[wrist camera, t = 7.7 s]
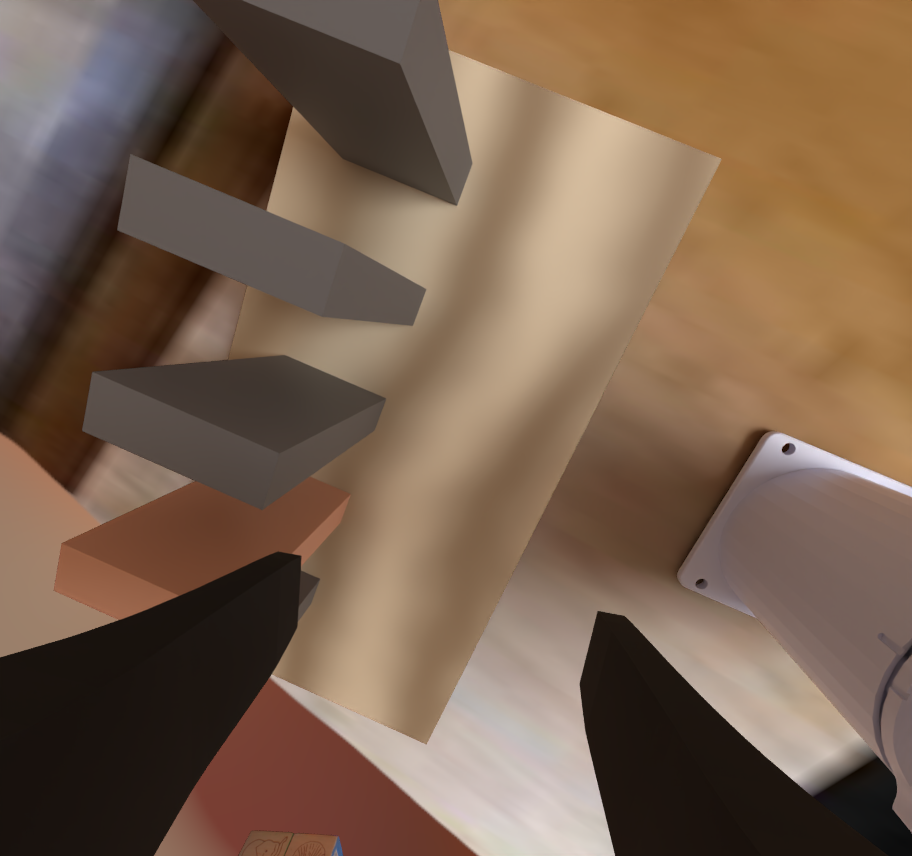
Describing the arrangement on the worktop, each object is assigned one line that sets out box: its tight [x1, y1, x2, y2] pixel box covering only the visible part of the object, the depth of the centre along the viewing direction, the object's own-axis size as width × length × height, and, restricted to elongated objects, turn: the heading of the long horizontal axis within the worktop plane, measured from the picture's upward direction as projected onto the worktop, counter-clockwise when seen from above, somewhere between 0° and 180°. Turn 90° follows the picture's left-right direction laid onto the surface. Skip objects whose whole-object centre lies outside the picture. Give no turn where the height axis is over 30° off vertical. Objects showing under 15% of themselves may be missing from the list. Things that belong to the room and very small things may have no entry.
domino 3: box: [82, 355, 386, 510], centre depth 15 cm, size 2×5×9 cm, turn 68°
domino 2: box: [117, 155, 426, 326], centre depth 13 cm, size 2×5×9 cm, turn 68°
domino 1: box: [193, 0, 473, 206], centre depth 12 cm, size 2×5×9 cm, turn 68°
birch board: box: [228, 50, 721, 744], centre depth 20 cm, size 16×30×1 cm, turn 158°
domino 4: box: [54, 477, 351, 620], centre depth 16 cm, size 2×5×9 cm, turn 68°
